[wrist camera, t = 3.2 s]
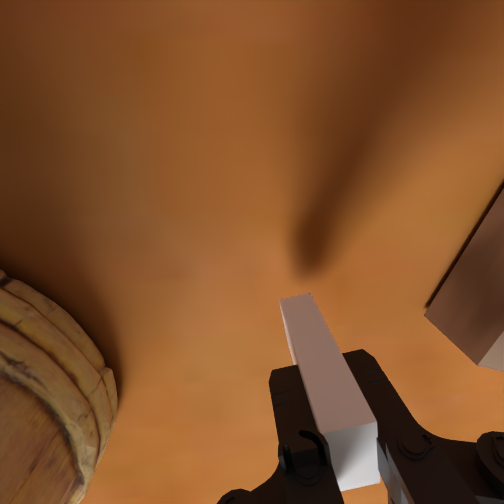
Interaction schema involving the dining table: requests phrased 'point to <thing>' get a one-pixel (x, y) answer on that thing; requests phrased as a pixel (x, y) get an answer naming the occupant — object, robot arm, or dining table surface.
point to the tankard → (49, 400)
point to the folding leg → (476, 295)
